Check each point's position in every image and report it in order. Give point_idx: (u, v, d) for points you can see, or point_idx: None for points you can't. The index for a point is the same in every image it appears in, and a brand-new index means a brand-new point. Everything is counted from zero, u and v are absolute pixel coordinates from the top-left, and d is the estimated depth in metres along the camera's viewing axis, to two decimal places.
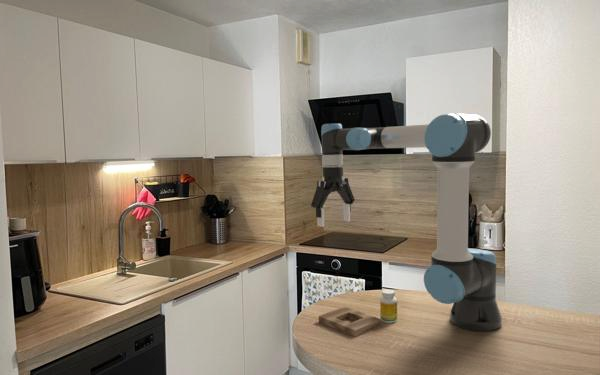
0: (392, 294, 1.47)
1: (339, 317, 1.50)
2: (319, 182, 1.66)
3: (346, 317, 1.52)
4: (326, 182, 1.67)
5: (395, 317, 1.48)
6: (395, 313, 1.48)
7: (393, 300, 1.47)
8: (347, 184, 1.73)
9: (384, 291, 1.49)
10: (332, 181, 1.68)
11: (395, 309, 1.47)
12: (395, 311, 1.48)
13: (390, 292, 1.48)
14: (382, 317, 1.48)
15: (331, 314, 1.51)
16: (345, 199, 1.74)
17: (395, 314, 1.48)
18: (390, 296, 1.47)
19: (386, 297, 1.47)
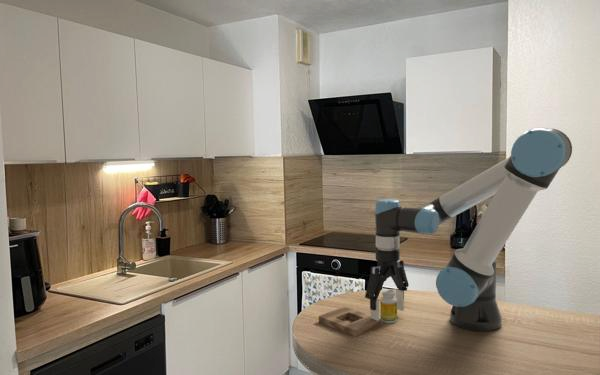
0: (392, 294, 1.47)
1: (339, 317, 1.50)
2: (373, 269, 1.43)
3: (346, 317, 1.52)
4: (381, 268, 1.45)
5: (395, 317, 1.48)
6: (395, 313, 1.48)
7: (393, 300, 1.47)
8: (402, 267, 1.51)
9: (384, 291, 1.49)
10: (387, 265, 1.46)
11: (395, 309, 1.47)
12: (395, 311, 1.48)
13: (390, 292, 1.48)
14: (382, 317, 1.48)
15: (331, 314, 1.51)
16: (398, 285, 1.52)
17: (395, 314, 1.48)
18: (390, 296, 1.47)
19: (386, 297, 1.47)
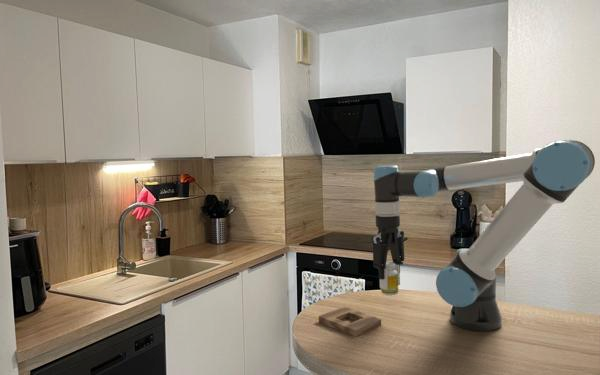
0: (392, 266, 1.46)
1: (339, 317, 1.50)
2: (374, 239, 1.43)
3: (346, 317, 1.52)
4: (381, 235, 1.44)
5: (396, 289, 1.47)
6: (396, 285, 1.46)
7: (394, 272, 1.46)
8: (402, 238, 1.50)
9: None
10: (387, 230, 1.45)
11: (396, 281, 1.46)
12: (396, 283, 1.46)
13: (390, 264, 1.47)
14: (383, 290, 1.47)
15: (331, 314, 1.51)
16: (395, 257, 1.49)
17: (396, 286, 1.46)
18: (390, 268, 1.46)
19: None
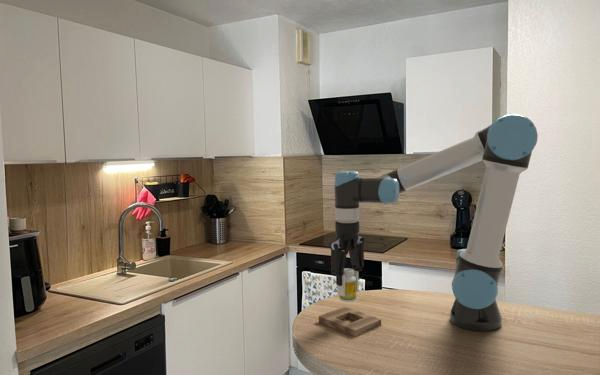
0: (350, 272, 1.45)
1: (339, 317, 1.50)
2: (332, 246, 1.41)
3: (346, 317, 1.52)
4: (340, 242, 1.42)
5: (354, 296, 1.45)
6: (354, 292, 1.45)
7: (351, 279, 1.45)
8: (362, 244, 1.48)
9: None
10: (346, 237, 1.43)
11: (354, 288, 1.45)
12: (354, 290, 1.45)
13: (349, 271, 1.45)
14: (341, 296, 1.46)
15: (331, 314, 1.51)
16: (354, 263, 1.48)
17: (354, 293, 1.45)
18: (348, 274, 1.44)
19: None
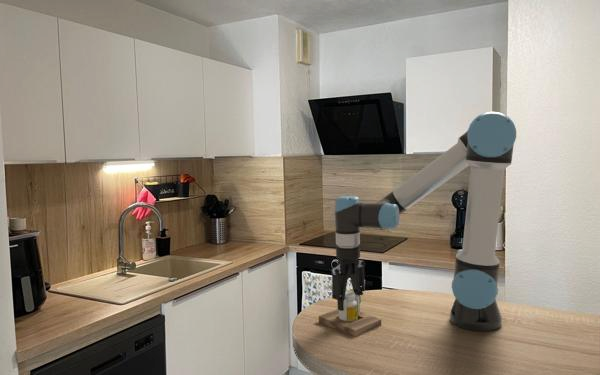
0: (352, 297, 1.45)
1: None
2: (333, 271, 1.42)
3: None
4: (341, 267, 1.43)
5: (355, 320, 1.46)
6: (355, 316, 1.46)
7: (353, 303, 1.45)
8: (362, 268, 1.49)
9: None
10: (347, 261, 1.44)
11: (355, 312, 1.46)
12: (355, 314, 1.46)
13: (350, 295, 1.46)
14: (342, 320, 1.47)
15: (331, 314, 1.51)
16: (355, 287, 1.48)
17: (355, 317, 1.46)
18: (350, 299, 1.45)
19: (346, 300, 1.46)
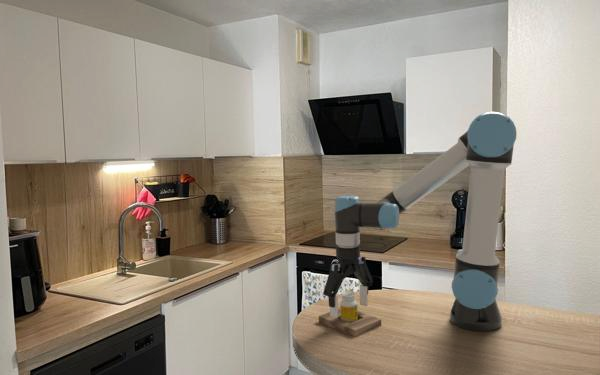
0: (352, 297, 1.45)
1: (339, 317, 1.50)
2: (332, 266, 1.42)
3: None
4: (340, 265, 1.43)
5: (355, 320, 1.46)
6: (355, 316, 1.46)
7: (353, 303, 1.45)
8: (364, 264, 1.49)
9: (344, 294, 1.47)
10: (347, 263, 1.44)
11: (355, 312, 1.46)
12: (355, 314, 1.46)
13: (350, 295, 1.46)
14: (342, 320, 1.47)
15: None
16: (362, 281, 1.50)
17: (355, 317, 1.46)
18: (350, 299, 1.45)
19: (346, 300, 1.46)
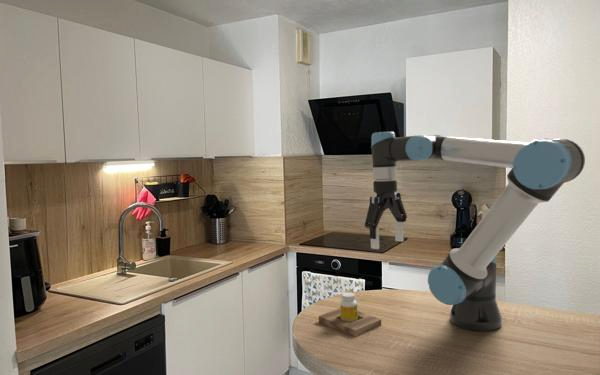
0: (352, 297, 1.45)
1: (339, 317, 1.50)
2: (372, 198, 1.46)
3: None
4: (380, 198, 1.47)
5: (355, 320, 1.46)
6: (355, 316, 1.46)
7: (353, 303, 1.45)
8: (399, 199, 1.54)
9: (344, 294, 1.47)
10: (385, 197, 1.48)
11: (355, 312, 1.46)
12: (355, 314, 1.46)
13: (350, 295, 1.46)
14: (342, 320, 1.47)
15: (331, 314, 1.51)
16: (397, 216, 1.55)
17: (355, 317, 1.46)
18: (350, 299, 1.45)
19: (346, 300, 1.46)
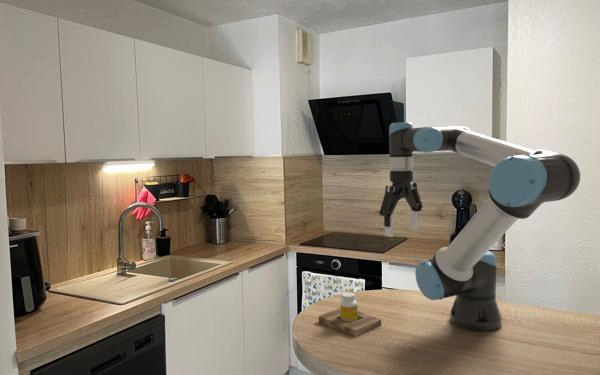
0: (352, 297, 1.45)
1: (339, 317, 1.50)
2: (388, 187, 1.49)
3: None
4: (395, 187, 1.50)
5: (355, 320, 1.46)
6: (355, 316, 1.46)
7: (353, 303, 1.45)
8: (415, 189, 1.57)
9: (344, 294, 1.47)
10: (401, 186, 1.52)
11: (355, 312, 1.46)
12: (355, 314, 1.46)
13: (350, 295, 1.46)
14: (342, 320, 1.47)
15: (331, 314, 1.51)
16: (413, 206, 1.58)
17: (355, 317, 1.46)
18: (350, 299, 1.45)
19: (346, 300, 1.46)
